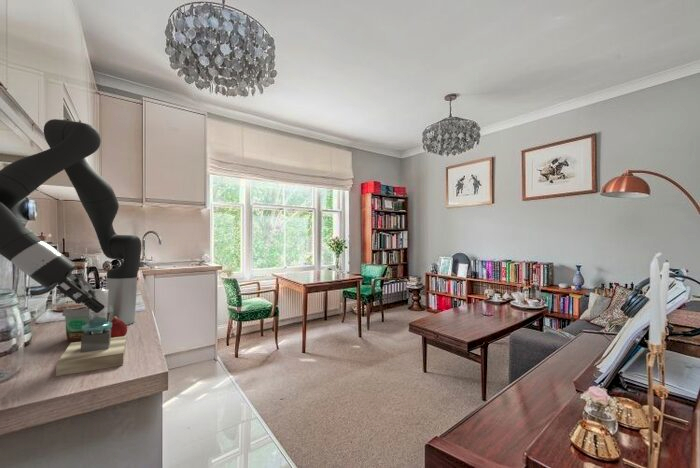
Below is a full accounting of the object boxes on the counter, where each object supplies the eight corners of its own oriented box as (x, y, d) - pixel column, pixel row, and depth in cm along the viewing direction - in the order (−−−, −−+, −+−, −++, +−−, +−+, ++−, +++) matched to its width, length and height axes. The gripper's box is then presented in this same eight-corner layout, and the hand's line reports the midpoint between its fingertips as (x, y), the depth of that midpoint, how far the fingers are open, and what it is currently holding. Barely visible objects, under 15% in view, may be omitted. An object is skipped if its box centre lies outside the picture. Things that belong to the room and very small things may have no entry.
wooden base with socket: (70, 354, 79) (71, 327, 80) (125, 346, 86) (127, 322, 87) (55, 376, 66) (58, 344, 67) (122, 365, 73) (124, 336, 74)
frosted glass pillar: (82, 345, 77) (86, 289, 78) (111, 341, 81) (115, 287, 81) (78, 352, 72) (82, 292, 73) (109, 348, 76) (113, 290, 76)
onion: (131, 340, 91) (132, 314, 92) (114, 347, 86) (116, 319, 86) (114, 339, 92) (115, 314, 92) (96, 345, 86) (98, 318, 86)
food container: (51, 345, 85) (53, 311, 86) (61, 339, 91) (64, 306, 91) (104, 341, 90) (106, 308, 91) (111, 335, 96) (113, 304, 96)
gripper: (54, 254, 67) (114, 300, 73) (67, 252, 79) (118, 292, 85) (18, 278, 64) (85, 324, 70) (37, 272, 76) (93, 312, 82)
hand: (103, 307), depth 77 cm, fingers open, 8 cm apart
